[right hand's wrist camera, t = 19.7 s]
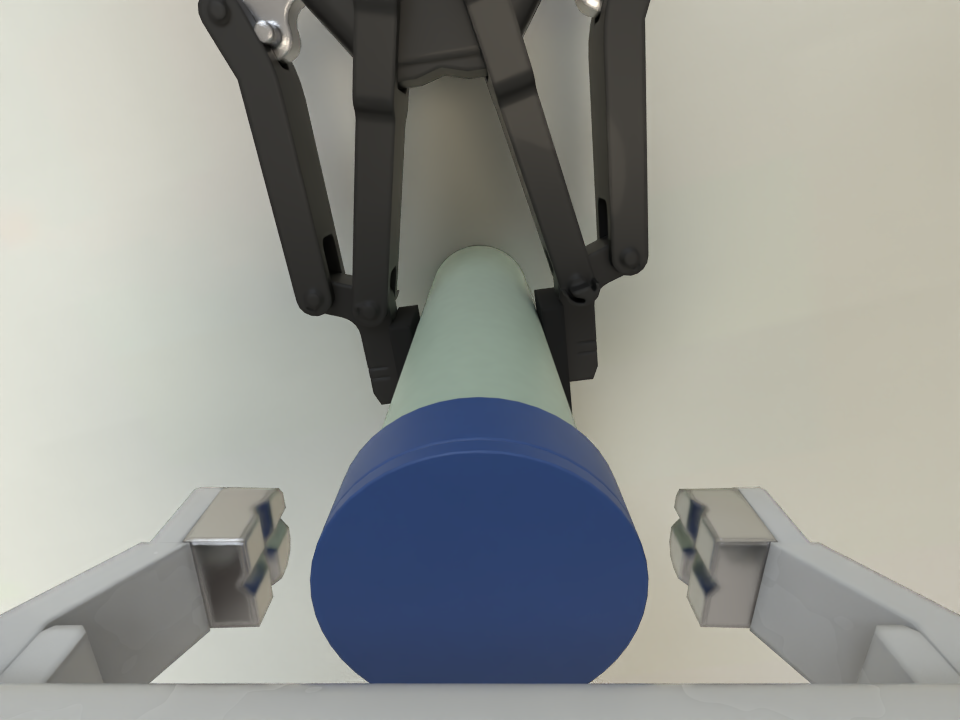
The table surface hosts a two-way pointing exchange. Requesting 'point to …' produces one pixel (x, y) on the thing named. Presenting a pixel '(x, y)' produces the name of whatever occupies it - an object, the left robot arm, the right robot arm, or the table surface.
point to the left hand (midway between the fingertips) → (496, 458)
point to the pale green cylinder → (479, 340)
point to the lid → (479, 552)
